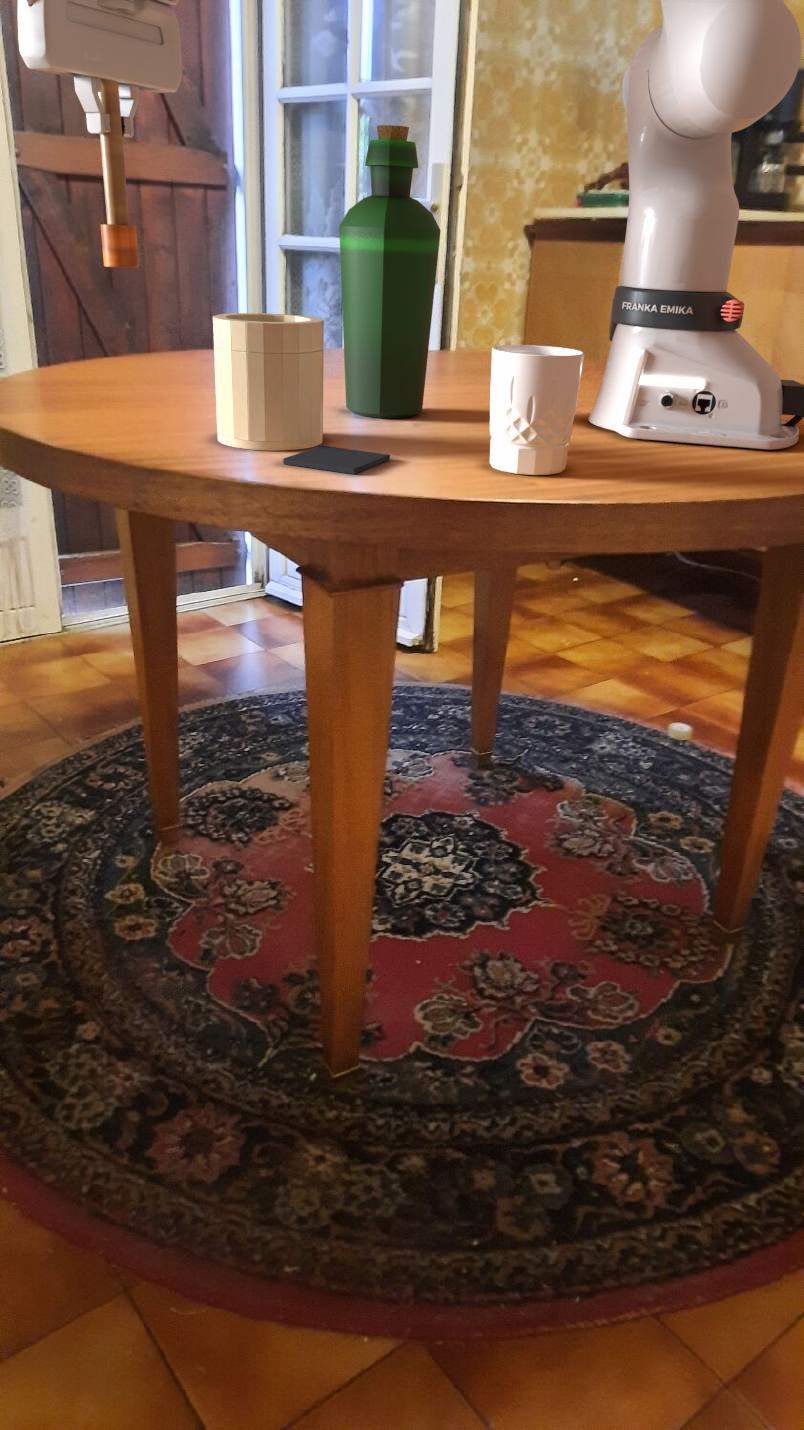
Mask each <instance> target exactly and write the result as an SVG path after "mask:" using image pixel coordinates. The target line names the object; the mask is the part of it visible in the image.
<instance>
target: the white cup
mask: <svg viewBox="0 0 804 1430" xmlns="http://www.w3.org/2000/svg"><path fill="white" fill-rule="evenodd" d="M584 358H585V352H584V351H582V350H578V349H575V348H569V347H560V346H549V345H534V344H502V345H495V346H493V347H491V361H490V362H491V364H490V366H491V367H490V387H489V388H490V392H489V436H490V440H489V441H490V442H489V465H490V466H491V467H492V469H495V470H497V471H501V472H505V473H509V474H517V475H528V476H545V475H547V476H549V475H554V474H555V475H556V474H560V473H562V472H563V471H565V469H566V466H567V460H568V454H569V453H568V452H569V445H570V444H569V442H570V441H571V437H572V433H573V427H574V419H575V415H576V411H577V404H578V398H579V391H580V385H581V378H582V372H583V366H584Z"/></svg>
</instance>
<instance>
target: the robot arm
mask: <svg viewBox="0 0 804 1430" xmlns="http://www.w3.org/2000/svg"><path fill="white" fill-rule="evenodd" d="M179 1H180V0H17V35H18V49H19V54H20V56H21V58H22V61H23V62H24V64H25V66H26V67H27V69H29V70H33V71H38V72H43V73H49V74H52V75H59V76H64V77H69V78H73V80H74V81H73V83H74V91H75V94H76V95H77V98H78V100H79V102H80V104H81V107H82V109H83V111H84V113H85V117H86V128H87V131H88V133H90V134H93V135H100V134H110V132H111V126H110V114H106V113H105V112H104V109H103V106H102V103H101V100H100V97H99V94H98V92H101V91H102V89H101V78H102V79H107V80H112V81H117V82H118V84H119V97H120V110H121V123H122V137H123V138H128V139H130V138H131V139H132V138H133V137H135V136H134V135H135V128H134V127H135V126H134V118H135V115H136V112H137V110H138V106H139V103H140V100H141V99H140V91H141V92H146V93H153V94H171V93H172V94H174V93H176V92H177V91H178V90H179V87H180V85H181V82H182V76H183V75H182V74H183V69H182V66H183V65H182V63H183V62H182V45H181V29H180V24H179V20H178V16H177V14H176V12H175V11H174V9H173V6H177V5H178V4H179ZM171 6H172V7H171ZM660 6H661V14H662V24H660V25H658V26H657V27H655V28H654V29H653V30H652V31H651V32H650V33H649V34H648V35H647V36H646V37H645V38H644V39H643V41H642V42H641V43H640V44H639V46H638V48H636V50H635V52H634V53H633V55H632V57H631V58H630V61H629V63H627V67H626V68H625V72H624V75H623V78H622V79H623V80H622V89H621V90H622V91H621V93H622V102H623V107H624V110H625V114H626V117H627V120H626V121H627V122H626V123H627V125H626V126H627V160H628V161H627V164H628V165H627V166H628V210H627V222H626V230H625V237H624V238H625V239H624V246H623V254H622V262H621V272H620V278H619V279H620V280H619V285H617V286H616V287H615V288H614V289H615V290H614V295H613V298H612V302H611V309H610V316H609V317H610V318H609V326H608V333H609V336H608V340H609V341H610V345H609V350H608V355H607V359H606V363H605V367H604V372H603V375H602V379H601V383H600V386H599V390H598V392H597V396H596V399H595V402H594V404H593V407H592V409H591V412H590V414H589V416H588V419H587V420H588V422H589V423H590V424H592V425H594V426H597V427H600V428H602V429H606V430H609V431H613V432H616V433H617V434H619V435H621V436H623V437H626V438H630V439H639V440H651V441H661V442H663V441H664V442H675V443H687V444H698V445H710V446H721V447H722V446H723V447H735V448H745V449H757V450H779V449H780V450H782V449H785V448H790V447H792V446H794V445H795V444H797V443H798V441H799V437H800V429H799V427H798V426H796V425H798V424H799V423H800V422H801V421H802V420H803V419H804V383H801V382H798V381H796V380H794V379H781V378H780V375H779V374H778V372H777V371H776V370H775V369H774V367H773V366H772V365H771V364H770V363H768V361H767V360H766V359H765V358H764V357H763V356H762V355H761V354H760V353H759V352H758V351H757V350H756V349H755V348H754V347H753V346H752V345H751V343H749V342H748V340H746V339H745V337H743V335H742V334H741V333H740V332H739V331H738V330H739V329H741V326H742V323H743V318H744V311H745V303H744V301H742V300H740V299H738V298H737V297H736V296H734V295H733V294H732V293H730V292H729V291H727V290H728V284H729V278H730V273H731V267H732V260H733V255H734V249H735V248H734V247H735V242H736V236H737V230H738V223H739V217H740V205H739V200H738V197H737V195H736V193H735V187H734V181H733V168H732V166H733V165H732V135H733V133H735V132H739V131H742V130H744V129H746V128H748V127H751V126H752V125H753V124H754V123H756V122H757V121H759V120H760V119H762V118H763V117H764V116H765V115H767V114H768V113H769V112H771V110H773V109H774V108H775V107H776V106H777V105H778V104H779V103H781V101H783V99H784V98H785V97H786V95H787V94H788V92H789V91H790V89H791V87H792V86H793V84H794V82H795V80H796V77H797V74H798V72H799V69H800V64H801V60H802V59H801V58H802V36H801V31H800V27H799V25H798V22H797V20H796V17H795V16H794V14H793V12H792V11H791V10H790V9H789V7H788V6H787V5H786V3H785V1H784V0H660ZM783 416H793V417H791V418H790V419H789V420H788V421H782V419H783V418H782V417H783Z"/></svg>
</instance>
